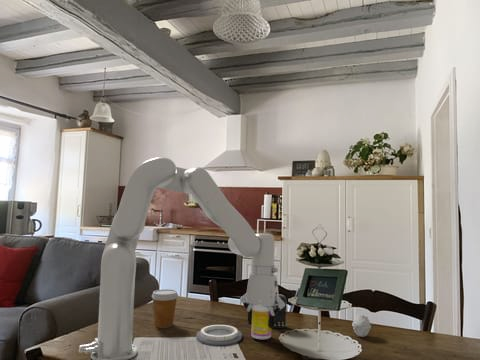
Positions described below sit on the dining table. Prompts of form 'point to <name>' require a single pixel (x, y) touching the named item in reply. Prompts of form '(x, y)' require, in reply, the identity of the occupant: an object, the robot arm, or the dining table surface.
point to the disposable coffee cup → (164, 307)
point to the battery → (281, 314)
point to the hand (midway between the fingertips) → (261, 324)
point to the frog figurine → (361, 325)
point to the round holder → (219, 335)
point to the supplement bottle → (260, 322)
